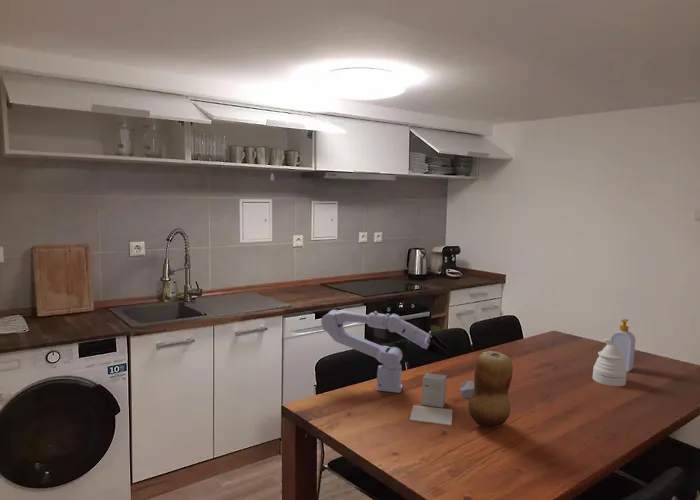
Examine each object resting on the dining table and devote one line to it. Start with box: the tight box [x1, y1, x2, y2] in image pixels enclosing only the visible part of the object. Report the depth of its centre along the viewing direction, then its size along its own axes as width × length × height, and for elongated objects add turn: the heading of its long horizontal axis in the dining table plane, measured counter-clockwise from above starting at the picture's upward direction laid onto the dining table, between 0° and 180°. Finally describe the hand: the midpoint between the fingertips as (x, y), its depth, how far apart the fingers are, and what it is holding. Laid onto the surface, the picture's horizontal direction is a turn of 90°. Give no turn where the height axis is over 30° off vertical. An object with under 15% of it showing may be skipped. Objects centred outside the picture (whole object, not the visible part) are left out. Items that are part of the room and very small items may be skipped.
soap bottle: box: [609, 318, 636, 373], centre depth 238 cm, size 9×7×23 cm
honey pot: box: [592, 338, 628, 387], centre depth 221 cm, size 13×13×18 cm
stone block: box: [459, 380, 474, 400], centre depth 202 cm, size 12×5×10 cm
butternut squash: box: [467, 350, 514, 428], centre depth 172 cm, size 14×13×25 cm
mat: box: [409, 404, 453, 427], centre depth 180 cm, size 14×12×1 cm
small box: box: [421, 372, 447, 409], centre depth 190 cm, size 8×6×10 cm
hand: (446, 352), depth 197 cm, fingers open, 7 cm apart
